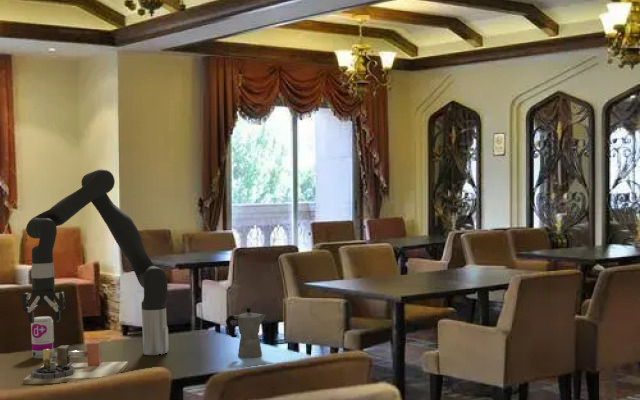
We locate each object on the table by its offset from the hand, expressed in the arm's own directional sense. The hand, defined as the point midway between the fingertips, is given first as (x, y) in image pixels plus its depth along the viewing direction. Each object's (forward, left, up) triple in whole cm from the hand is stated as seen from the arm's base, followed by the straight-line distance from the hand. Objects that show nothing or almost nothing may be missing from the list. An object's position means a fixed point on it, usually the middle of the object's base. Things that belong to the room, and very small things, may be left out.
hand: (44, 322), depth 308 cm
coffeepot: (-68, -23, -19) cm, 74 cm away
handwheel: (-4, +5, -17) cm, 18 cm away
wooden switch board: (-11, 0, -18) cm, 21 cm away
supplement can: (+11, -33, -19) cm, 39 cm away
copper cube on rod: (-8, -8, -17) cm, 20 cm away
